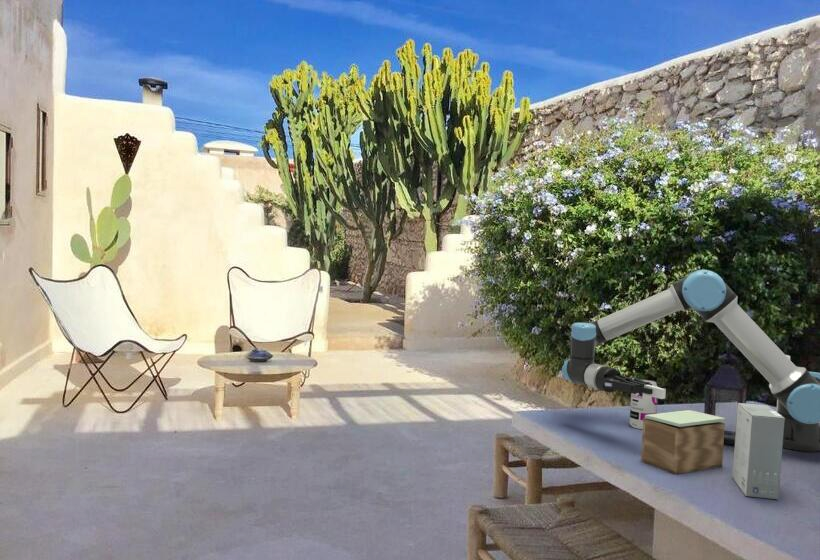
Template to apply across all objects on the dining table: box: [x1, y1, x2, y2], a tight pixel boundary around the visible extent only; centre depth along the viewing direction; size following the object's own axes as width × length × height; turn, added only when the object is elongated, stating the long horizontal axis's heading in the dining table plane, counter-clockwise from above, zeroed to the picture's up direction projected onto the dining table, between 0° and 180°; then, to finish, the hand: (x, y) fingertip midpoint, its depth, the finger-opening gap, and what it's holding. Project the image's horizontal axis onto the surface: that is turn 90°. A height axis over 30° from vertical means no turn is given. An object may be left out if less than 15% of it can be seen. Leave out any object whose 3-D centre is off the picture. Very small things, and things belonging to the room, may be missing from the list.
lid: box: [645, 409, 726, 427], centre depth 203 cm, size 18×12×1 cm
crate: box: [640, 418, 726, 476], centre depth 204 cm, size 18×12×12 cm
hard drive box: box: [732, 402, 785, 500], centre depth 186 cm, size 16×8×20 cm, turn 168°
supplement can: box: [629, 379, 658, 431], centre depth 244 cm, size 8×8×15 cm
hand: (663, 394), depth 209 cm, fingers closed
